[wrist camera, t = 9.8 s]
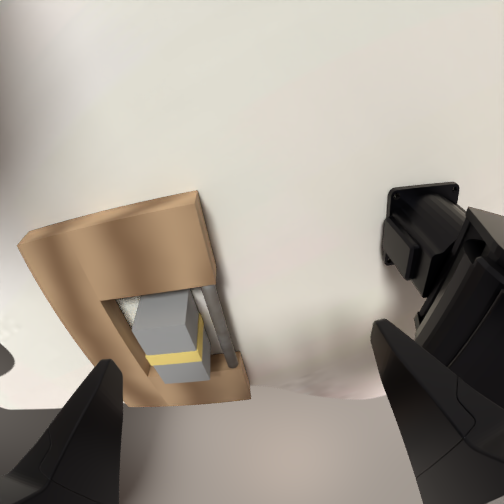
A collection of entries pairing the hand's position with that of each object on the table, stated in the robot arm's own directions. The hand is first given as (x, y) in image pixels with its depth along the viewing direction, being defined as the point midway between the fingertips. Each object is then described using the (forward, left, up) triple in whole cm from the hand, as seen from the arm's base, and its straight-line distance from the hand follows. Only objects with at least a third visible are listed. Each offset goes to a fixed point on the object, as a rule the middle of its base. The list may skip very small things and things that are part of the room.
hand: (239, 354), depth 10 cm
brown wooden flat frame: (+9, +10, -12) cm, 18 cm away
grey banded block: (+6, +10, -12) cm, 17 cm away
